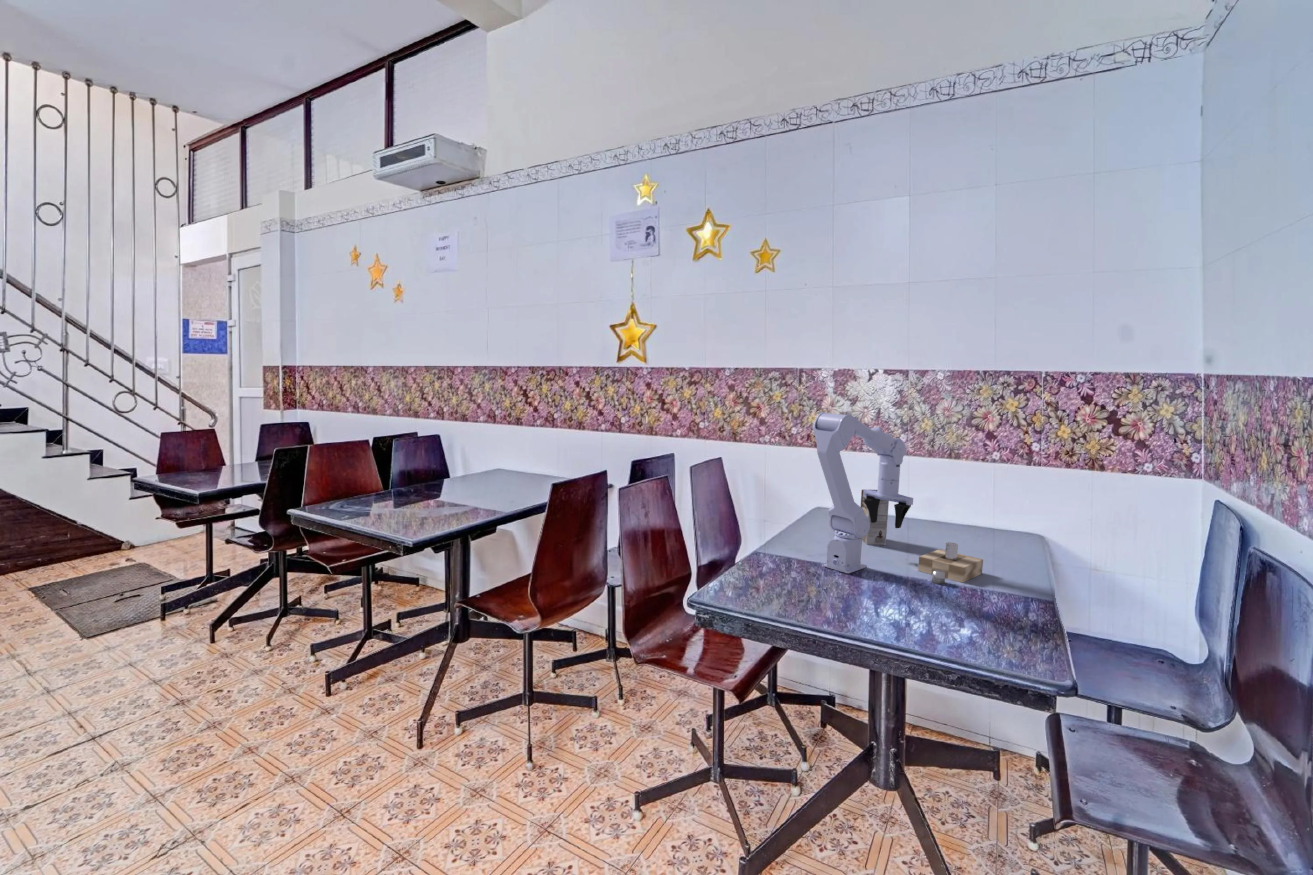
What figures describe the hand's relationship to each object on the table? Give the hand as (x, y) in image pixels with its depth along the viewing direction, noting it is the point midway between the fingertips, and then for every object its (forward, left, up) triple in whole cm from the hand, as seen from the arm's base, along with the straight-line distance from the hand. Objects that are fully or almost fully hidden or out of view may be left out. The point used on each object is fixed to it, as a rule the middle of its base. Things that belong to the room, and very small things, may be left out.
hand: (885, 524), depth 182 cm
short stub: (-8, -20, -10) cm, 24 cm away
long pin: (+3, -18, -10) cm, 21 cm away
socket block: (+3, -18, -10) cm, 21 cm away
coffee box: (+14, +12, -10) cm, 21 cm away
